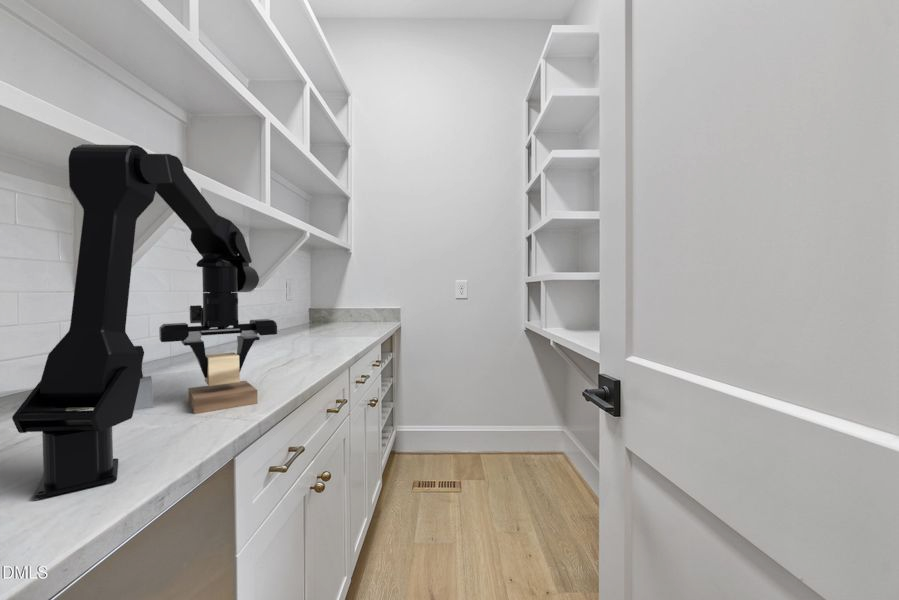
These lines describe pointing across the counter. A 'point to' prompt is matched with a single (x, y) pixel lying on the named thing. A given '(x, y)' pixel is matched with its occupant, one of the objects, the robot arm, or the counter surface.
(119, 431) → the counter surface
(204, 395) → the walnut block
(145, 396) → the slate cube
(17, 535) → the counter surface
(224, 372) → the maple cube
